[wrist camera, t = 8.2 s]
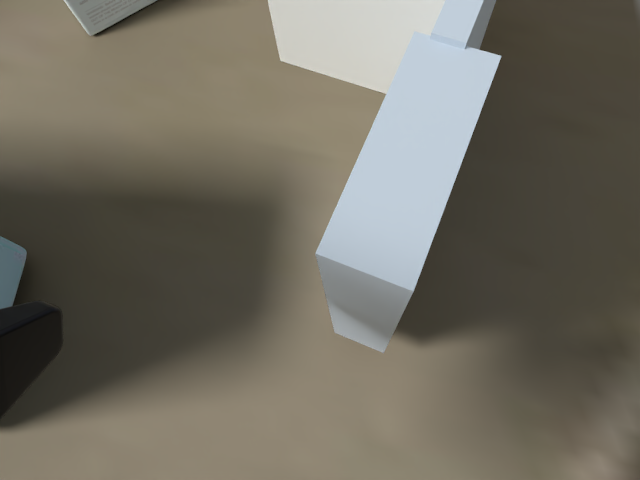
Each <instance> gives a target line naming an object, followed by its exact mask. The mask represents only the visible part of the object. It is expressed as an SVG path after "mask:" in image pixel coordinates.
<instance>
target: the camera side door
mask: <svg viewBox="0 0 640 480" xmlns="http://www.w3.org/2000/svg"><path fill="white" fill-rule="evenodd" d="M495 3H496V0H445V2H444V5H443V7H442V9H441V12H440V14H439V16H438V19H437V21H436V23H435V26H434V28H433V30H432V33H431V36H430V35H426V34H423V33H419V32H415V31H414V34H413V36H412V38H411V40H410V43H409V45H408V47H407V49H406V51H405V54H404V56H403V58H402V60H401V63H400V65H399V67H398V69H397V72H396V74H395V76H394V78H393V81H392V83H391V85H390V87H389V90H388V92H387V94H386V96H385V99H384V101H383V103H382V105H381V108H380V110H379V112H378V114H377V117H376V119H375V121H374V123H373V126H372V128H371V130H370V132H369V135H368V137H367V139H366V141H365V143H364V146H363V148H362V150H361V152H360V155H359V157H358V159H357V161H356V164H355V166H354V168H353V170H352V173H351V175H350V177H349V179H348V182H347V184H346V186H345V188H344V191H343V193H342V195H341V197H340V200H339V202H338V204H337V206H336V209H335V211H334V213H333V215H332V218H331V220H330V222H329V224H328V226H327V229H326V231H325V233H324V235H323V238H322V240H321V242H320V244H319V247H318V249H317V251H316V253H315V254H316V258H317V262H318V266H319V270H320V274H321V278H322V282H323V286H324V291H325V295H326V299H327V303H328V307H329V311H330V315H331V319H332V323H333V328H334V332H335V333H337V334H339V335H342V336H344V337H346V338H349V339H351V340H354V341H356V342H358V343H361V344H363V345H366V346H368V347H370V348H373V349H375V350H378V351H380V352H382V353H384V351H385V349H386V347H387V345H388V343H389V341H390V339H391V337H392V335H393V333H394V331H395V329H396V327H397V325H398V323H399V320H400V318H401V316H402V314H403V312H404V310H405V308H406V306H407V304H408V302H409V300H410V298H411V296H412V294H413V292H414V289H415V286H416V284H417V281H418V278H419V276H420V273H421V270H422V268H423V265H424V262H425V259H426V257H427V254H428V251H429V249H430V246H431V243H432V241H433V238H434V235H435V233H436V230H437V227H438V225H439V222H440V219H441V217H442V214H443V211H444V209H445V206H446V203H447V201H448V198H449V195H450V193H451V190H452V187H453V185H454V182H455V179H456V177H457V174H458V171H459V169H460V166H461V163H462V160H463V158H464V155H465V152H466V150H467V147H468V144H469V142H470V139H471V136H472V134H473V131H474V128H475V126H476V123H477V120H478V118H479V115H480V112H481V110H482V107H483V104H484V102H485V99H486V96H487V94H488V91H489V88H490V86H491V83H492V80H493V78H494V75H495V72H496V69H497V67H498V64H499V61H500V59H501V56H500V55H496V54H493V53H489V52H486V51H482V50H479V49H480V46H481V43H482V40H483V37H484V35H485V32H486V29H487V26H488V23H489V20H490V17H491V14H492V11H493V8H494V5H495Z"/></svg>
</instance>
